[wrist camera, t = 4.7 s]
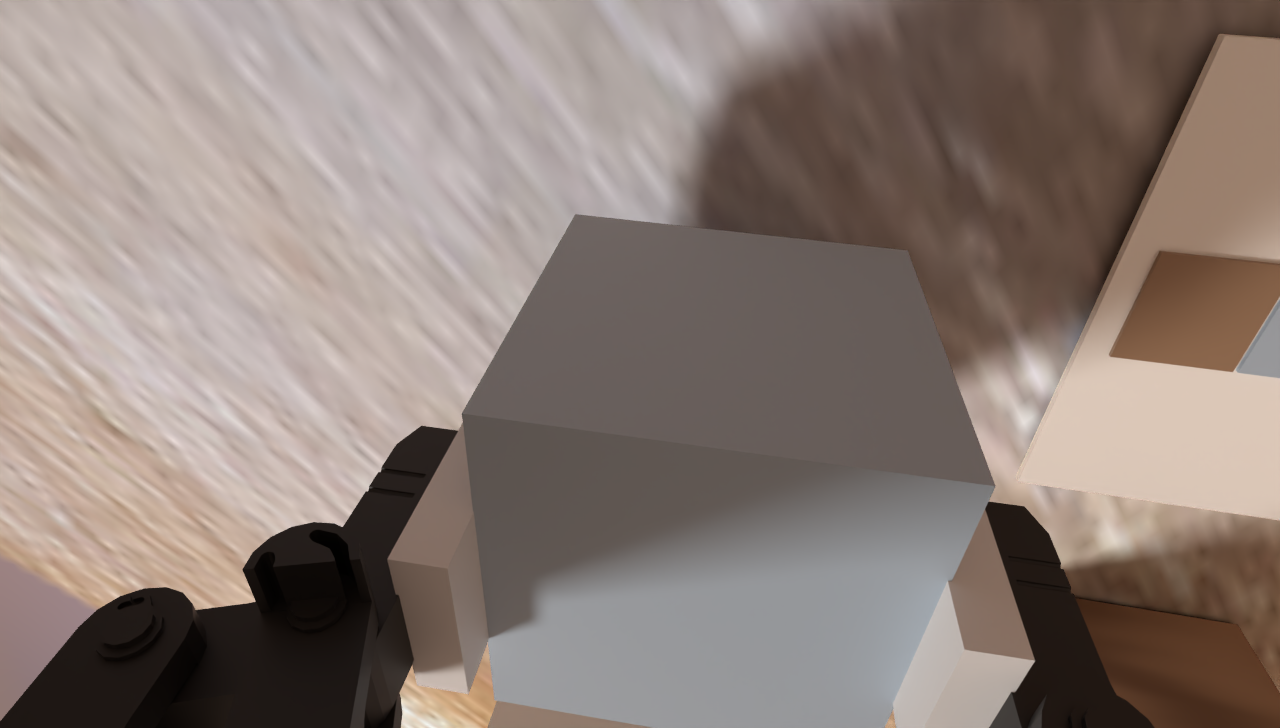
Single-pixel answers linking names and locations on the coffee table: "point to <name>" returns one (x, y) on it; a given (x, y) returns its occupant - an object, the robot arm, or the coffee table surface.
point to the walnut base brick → (1182, 668)
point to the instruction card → (1187, 317)
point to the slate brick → (718, 480)
